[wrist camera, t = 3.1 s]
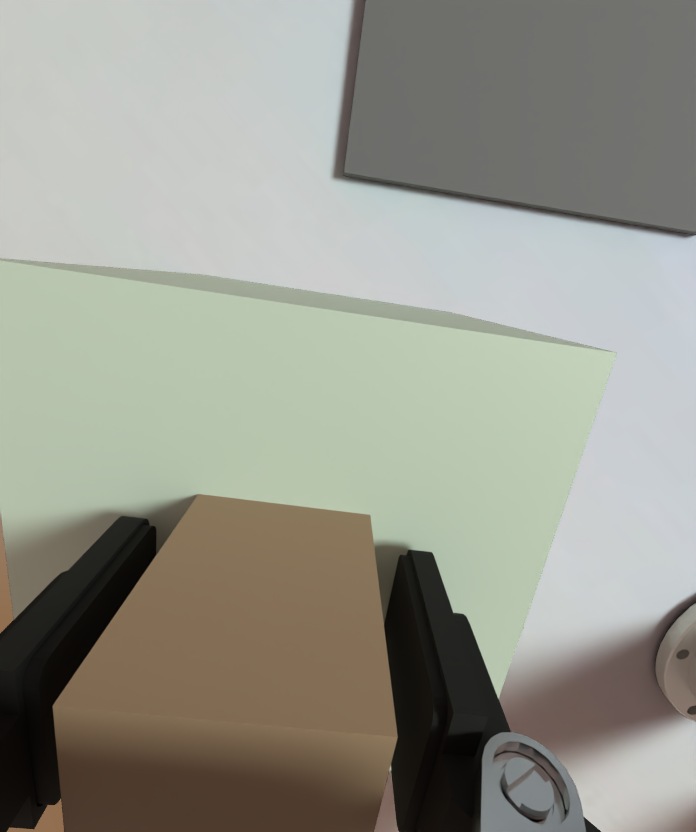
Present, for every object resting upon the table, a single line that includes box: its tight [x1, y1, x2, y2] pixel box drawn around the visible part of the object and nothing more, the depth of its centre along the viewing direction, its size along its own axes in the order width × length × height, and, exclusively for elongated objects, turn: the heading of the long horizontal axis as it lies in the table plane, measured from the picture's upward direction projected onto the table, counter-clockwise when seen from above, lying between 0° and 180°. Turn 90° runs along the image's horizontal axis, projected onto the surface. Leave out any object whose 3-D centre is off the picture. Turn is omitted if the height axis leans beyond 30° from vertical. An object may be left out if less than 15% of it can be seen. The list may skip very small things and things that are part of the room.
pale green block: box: [0, 258, 617, 832], centre depth 14 cm, size 13×13×19 cm
